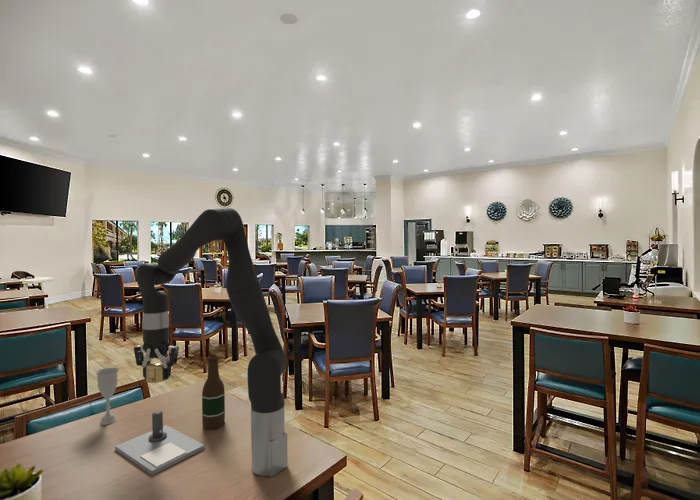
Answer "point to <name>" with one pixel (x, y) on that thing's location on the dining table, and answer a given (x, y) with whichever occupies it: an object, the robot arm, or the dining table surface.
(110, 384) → the chalice
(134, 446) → the board
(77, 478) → the dining table surface
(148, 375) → the cap
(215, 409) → the beer bottle
